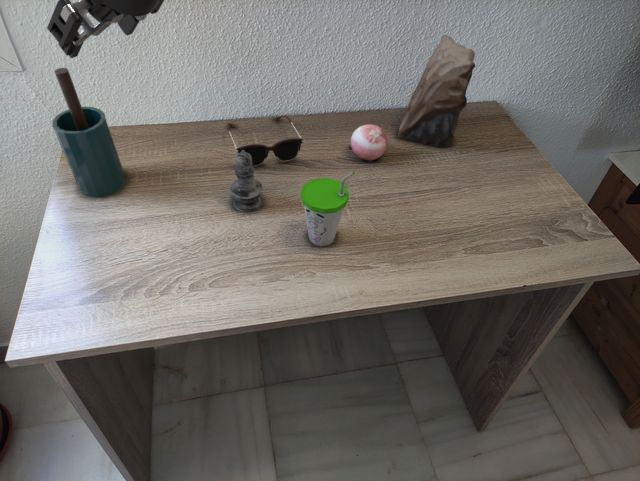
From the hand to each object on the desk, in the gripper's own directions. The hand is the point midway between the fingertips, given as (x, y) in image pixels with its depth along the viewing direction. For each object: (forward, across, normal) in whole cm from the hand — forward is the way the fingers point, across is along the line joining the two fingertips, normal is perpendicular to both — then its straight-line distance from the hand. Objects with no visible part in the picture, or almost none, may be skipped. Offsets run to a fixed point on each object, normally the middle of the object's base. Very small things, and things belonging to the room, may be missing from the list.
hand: (96, 39), depth 60 cm
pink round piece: (+8, -41, +38) cm, 57 cm away
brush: (+33, -2, +12) cm, 35 cm away
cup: (+4, -15, +42) cm, 45 cm away
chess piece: (+16, -14, +31) cm, 37 cm away
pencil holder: (+34, -2, +12) cm, 36 cm away
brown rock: (+4, -56, +42) cm, 71 cm away
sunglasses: (+23, -31, +23) cm, 45 cm away
